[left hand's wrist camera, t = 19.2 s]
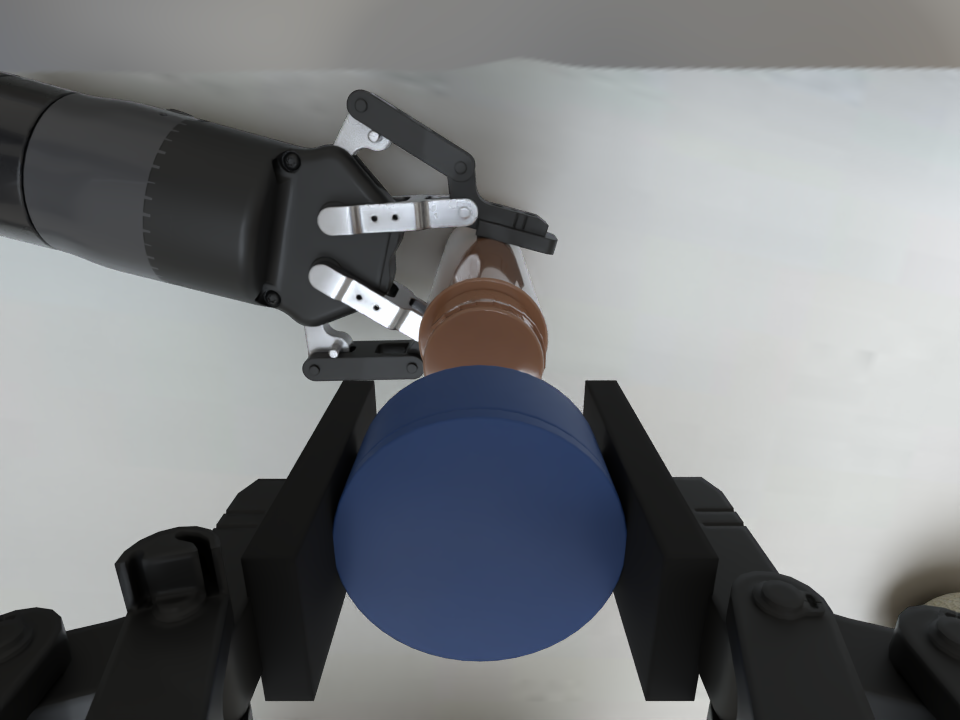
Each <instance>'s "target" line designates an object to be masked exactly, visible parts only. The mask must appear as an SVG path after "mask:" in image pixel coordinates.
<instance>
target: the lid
mask: <svg viewBox="0 0 960 720" xmlns="http://www.w3.org/2000/svg"><path fill="white" fill-rule="evenodd" d="M626 538H627V527H626V520H625V515H624V511H623V508H622V505H621V502H620V499H619V496H618V494H617V491H616V489H615V486H614V484H613V481H612V478H611V476H610V473H609V471H608V468H607V466H606V463H605V461H604V458H603V456H602V453H601V451H600V448H599V445H598V443H597V440H596V438H595V436H594V433H593V431H592V429H591V427H590V425H589V423H588V422H587V420H586V419H585V417H584V416H583V414H582V413H581V411H580V410H579V409H578V408H577V407H576V406H575V405H574V404H573V403H572V401H571V400H570V399H568V398H567V397H566V396H565V395H564V394H562V393H561V392H560V391H559V390H558V389H556V388H554V387H553V386H551V385H550V384H548V383H546V382H545V381H543V380H541V379H539V378H536V377H534V376H532V375H530V374H527V373H524V372H521V371H518V370H514V369H510V368H504V367H499V366H487V365H472V366H460V367H455V368H450V369H445V370H442V371H439V372H436V373H432V374H429V375H427V376H425V377H423V378H421V379H419V380H417V381H414V382H413V383H411V384H410V385H408V386H407V387H405V388H404V389H402V390H400V391H399V392H398V393H397V394H396V395H395V396H393V397H392V398H391V399H390V400H389V401H388V402H387V403H386V404H385V405H384V406H383V407H382V409H381V410H380V411H379V412H378V413H377V415H376V416H375V418H374V419H373V421H372V423H371V424H370V426H369V428H368V430H367V432H366V434H365V437H364V439H363V441H362V444H361V447H360V449H359V452H358V454H357V457H356V459H355V462H354V464H353V467H352V469H351V472H350V474H349V477H348V479H347V482H346V484H345V487H344V489H343V492H342V494H341V497H340V500H339V502H338V506H337V509H336V512H335V516H334V522H333V543H334V553H335V561H336V568H337V571H338V574H339V577H340V579H341V582H342V584H343V586H344V588H345V589H346V591H347V593H348V595H349V597H350V598H351V599H352V601H353V602H354V604H355V605H356V606H357V608H358V609H359V610H360V611H361V612H362V613H363V614H364V615H365V616H366V617H367V618H368V619H369V620H370V621H371V622H372V623H373V624H374V625H376V626H377V627H378V628H379V629H380V630H382V631H383V632H385V633H386V634H388V635H389V636H391V637H392V638H394V639H396V640H397V641H399V642H401V643H403V644H405V645H407V646H409V647H411V648H414V649H417V650H419V651H422V652H425V653H428V654H431V655H435V656H439V657H443V658H448V659H455V660H462V661H497V660H504V659H511V658H516V657H520V656H524V655H528V654H532V653H535V652H537V651H540V650H543V649H545V648H548V647H550V646H552V645H554V644H556V643H558V642H560V641H562V640H564V639H566V638H567V637H569V636H570V635H572V634H573V633H575V632H576V631H578V630H579V629H580V628H581V627H583V626H584V625H585V624H586V623H587V622H589V621H590V620H591V619H592V618H593V617H594V616H595V615H596V613H597V612H598V611H599V610H600V609H601V608H602V607H603V605H604V604H605V603H606V601H607V600H608V598H609V597H610V596H611V594H612V592H613V590H614V588H615V586H616V584H617V582H618V580H619V578H620V575H621V572H622V569H623V566H624V558H625V549H626Z"/></svg>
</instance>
